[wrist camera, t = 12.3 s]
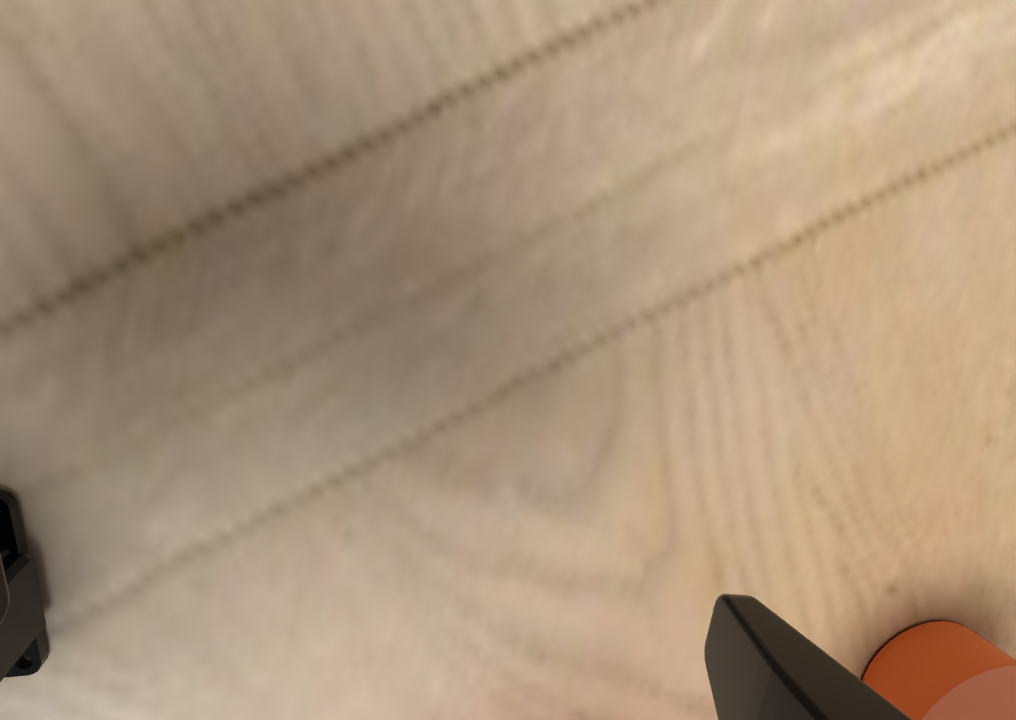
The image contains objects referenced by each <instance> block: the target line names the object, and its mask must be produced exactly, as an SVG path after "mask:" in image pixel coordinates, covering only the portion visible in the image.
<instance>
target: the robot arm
mask: <svg viewBox="0 0 1016 720" xmlns="http://www.w3.org/2000/svg"><path fill="white" fill-rule="evenodd" d="M44 626H45V617H44V612H43V607H42V602H41V597H40V592H39V587H38V582H37V577H36V572H35V567H34V563H33V560H32V558H31V557H30V556H29V555H28V552H27V547H26V542H25V537H24V532H23V527H22V522H21V518H20V513H19V508H18V503H17V501H16V499H15V497H14V496H13V495H12V494H11V493H9V492H7V491H5V490H0V682H1V681H2V679H3V678H4V677H15V676H26V675H31V674H34V673H35V672H37V671H38V670H39V669H40V667H41V666H42V665H43V663H44V662H45V660H46V659H47V657H48V650H47V645H46V640H45V635H44V630H43V628H44ZM23 656H25V657H28V658H30V659H31V660H28V659H26V658H24V657H23ZM705 663H706V668H707V672H708V677H709V681H710V685H711V690H712V694H713V698H714V703H715V707H716V711H717V716H718V720H912V719H911V718H909V717H908V716H907V715H905V714H904V713H903V712H902V711H900V710H899V709H898V708H896V707H895V706H894V705H893V704H891V703H890V702H889V701H887V700H886V699H885V698H883V697H882V696H881V695H880V694H878V693H877V692H876V691H874V690H873V689H872V688H871V687H869V686H868V685H867V684H865V683H864V682H863V681H862V680H860V679H859V678H858V677H856V676H855V675H854V674H852V673H851V672H850V671H849V670H847V669H846V668H845V667H843V666H842V665H841V664H840V663H838V662H837V661H836V660H834V659H833V658H832V657H831V656H829V655H828V654H827V653H825V652H824V651H823V650H821V649H820V648H819V647H818V646H816V645H815V644H814V643H812V642H811V641H810V640H809V639H807V638H806V637H805V636H803V635H802V634H801V633H800V632H798V631H797V630H796V629H794V628H793V627H792V626H790V625H789V624H788V623H787V622H785V621H784V620H783V619H781V618H780V617H779V616H778V615H776V614H775V613H774V612H772V611H771V610H770V609H769V608H767V607H766V606H765V605H763V604H762V603H761V602H759V601H758V600H757V599H755V598H754V597H752V596H748V595H735V594H722V595H720V596H719V597H718V598H717V600H716V603H715V606H714V610H713V614H712V618H711V622H710V626H709V630H708V634H707V638H706V642H705Z"/></svg>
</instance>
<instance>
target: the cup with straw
mask: <svg viewBox="0 0 1016 720" xmlns="http://www.w3.org/2000/svg"><path fill="white" fill-rule="evenodd" d="M862 681H863V682H864V683H865V684H867V685H868V686H869V687H871V688H872V689H873V690H874V691H876V692H877V693H878V694H880V695H881V696H882V697H883V698H885V699H886V700H887V701H889V702H890V703H891V704H893V705H894V706H895V707H896V708H898V709H899V710H900V711H902V712H903V713H904V714H905V715H907V716H908V717H909V718H911V719H912V720H1016V660H1015V659H1014V658H1012V657H1011V656H1009V655H1008V654H1006V653H1005V652H1003V651H1002V650H1000V649H999V648H997V647H996V646H994V645H993V644H991V643H990V642H988V641H987V640H985V639H983V638H982V637H980V636H979V635H977V634H976V633H974V632H973V631H971V630H970V629H968V628H966V627H964V626H962V625H960V624H957V623H954V622H948V621H936V622H929V623H924V624H921V625H918V626H915V627H913V628H911V629H909V630H907V631H905V632H903V633H901V634H900V635H898V636H897V637H895V638H894V639H892V640H891V641H890V642H889V643H888V644H886V645H885V646H884V647H883V648H882V649H881V650H880V651H879V653H878V654H877V655H876V656H875V658H874V659H873V660H872V662H871V663H870V665H869V667H868V669H867V670H866V673H865V675H864V677H863V680H862Z"/></svg>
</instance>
